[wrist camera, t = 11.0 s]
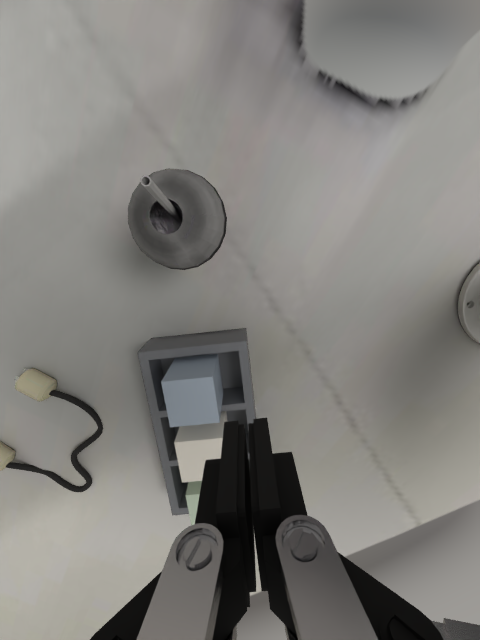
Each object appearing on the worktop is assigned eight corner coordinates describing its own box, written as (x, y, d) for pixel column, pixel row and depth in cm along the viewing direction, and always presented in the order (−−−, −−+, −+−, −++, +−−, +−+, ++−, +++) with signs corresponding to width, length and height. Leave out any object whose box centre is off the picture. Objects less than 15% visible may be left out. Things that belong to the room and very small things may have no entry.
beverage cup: (162, 253, 34) (57, 263, 14) (174, 187, 32) (72, 99, 13) (223, 268, 34) (200, 299, 15) (238, 204, 32) (234, 145, 13)
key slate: (217, 353, 33) (212, 376, 27) (223, 392, 35) (219, 422, 29) (175, 358, 33) (161, 381, 28) (182, 396, 35) (170, 427, 29)
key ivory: (225, 406, 35) (222, 438, 30) (230, 441, 37) (228, 478, 31) (185, 410, 35) (174, 442, 30) (191, 444, 37) (181, 482, 31)
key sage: (232, 453, 37) (230, 491, 32) (236, 484, 39) (235, 527, 33) (194, 456, 38) (185, 495, 32) (199, 488, 39) (192, 530, 33)
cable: (135, 416, 40) (126, 432, 37) (83, 495, 43) (70, 516, 40) (30, 357, 38) (10, 368, 34) (-15, 445, 41) (-38, 463, 38)
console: (246, 328, 36) (246, 341, 31) (262, 476, 42) (265, 507, 37) (151, 338, 36) (137, 352, 32) (180, 484, 42) (172, 515, 37)
